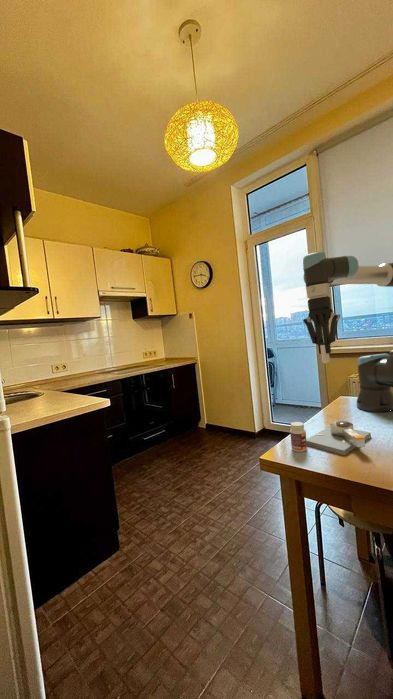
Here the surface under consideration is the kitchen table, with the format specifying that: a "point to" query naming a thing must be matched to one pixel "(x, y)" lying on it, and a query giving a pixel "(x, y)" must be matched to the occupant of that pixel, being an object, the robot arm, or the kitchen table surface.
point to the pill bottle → (298, 437)
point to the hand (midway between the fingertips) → (326, 362)
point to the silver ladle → (347, 432)
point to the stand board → (334, 441)
